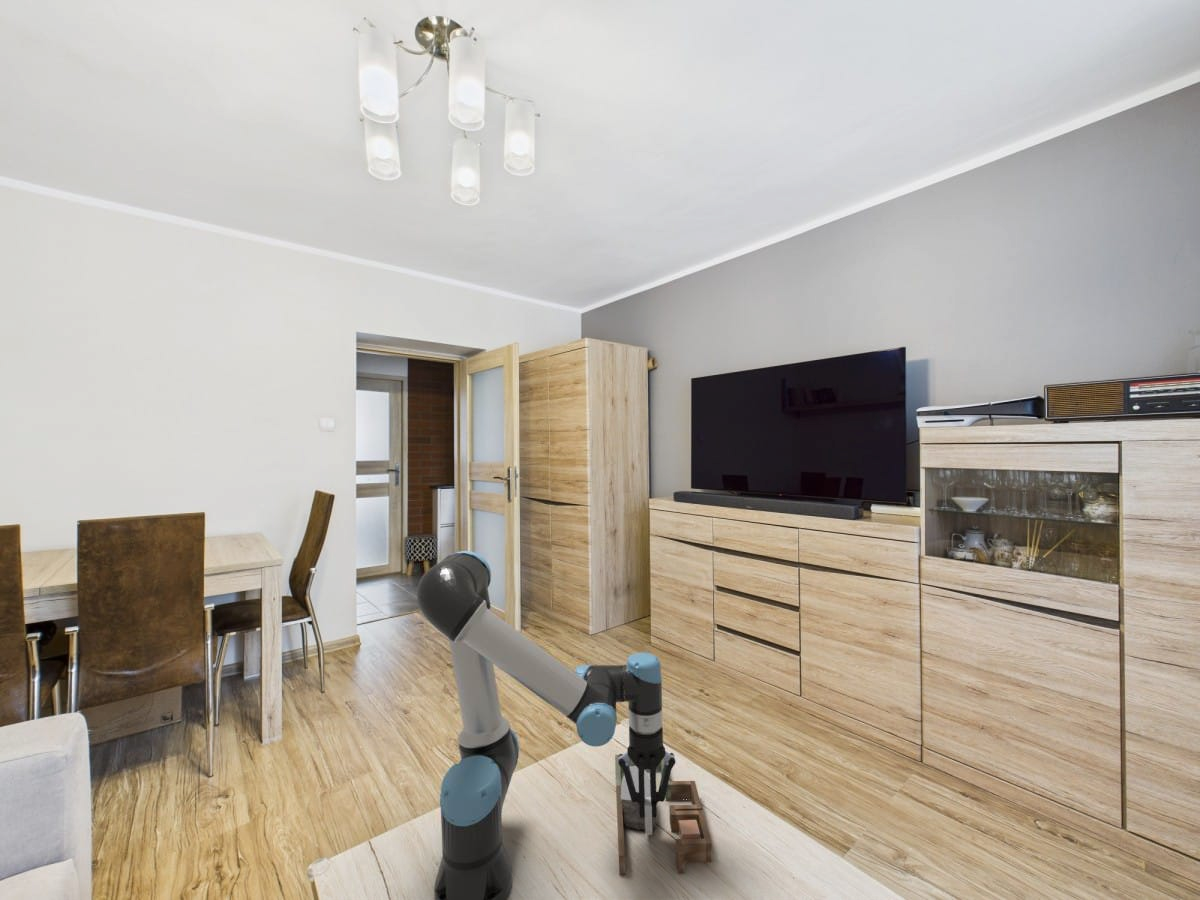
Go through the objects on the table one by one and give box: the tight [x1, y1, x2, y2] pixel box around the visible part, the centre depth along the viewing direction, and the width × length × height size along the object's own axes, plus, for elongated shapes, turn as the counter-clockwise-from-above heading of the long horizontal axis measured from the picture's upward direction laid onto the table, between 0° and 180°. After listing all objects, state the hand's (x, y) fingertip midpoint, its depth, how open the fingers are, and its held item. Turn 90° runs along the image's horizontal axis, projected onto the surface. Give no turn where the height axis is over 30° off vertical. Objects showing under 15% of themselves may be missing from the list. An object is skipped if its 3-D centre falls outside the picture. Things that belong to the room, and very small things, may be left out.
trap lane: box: [614, 754, 713, 876], centre depth 120 cm, size 20×33×4 cm, turn 0°
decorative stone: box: [620, 766, 658, 831], centre depth 121 cm, size 15×7×10 cm
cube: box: [678, 820, 700, 839], centre depth 111 cm, size 4×4×4 cm
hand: (648, 829), depth 113 cm, fingers closed
